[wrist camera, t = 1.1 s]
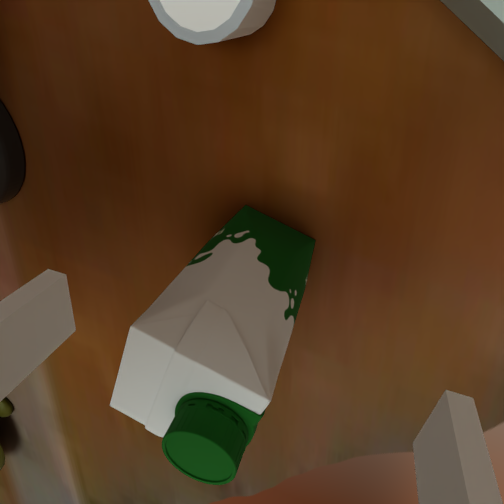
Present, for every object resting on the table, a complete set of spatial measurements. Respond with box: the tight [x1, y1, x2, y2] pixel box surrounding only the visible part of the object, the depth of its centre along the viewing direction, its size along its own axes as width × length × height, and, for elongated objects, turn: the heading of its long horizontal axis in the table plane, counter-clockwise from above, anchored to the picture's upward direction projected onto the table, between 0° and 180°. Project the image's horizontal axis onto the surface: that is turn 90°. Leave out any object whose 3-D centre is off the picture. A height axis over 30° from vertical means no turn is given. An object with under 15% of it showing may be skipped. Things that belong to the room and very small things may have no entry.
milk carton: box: [110, 205, 315, 485], centre depth 26 cm, size 9×9×20 cm
